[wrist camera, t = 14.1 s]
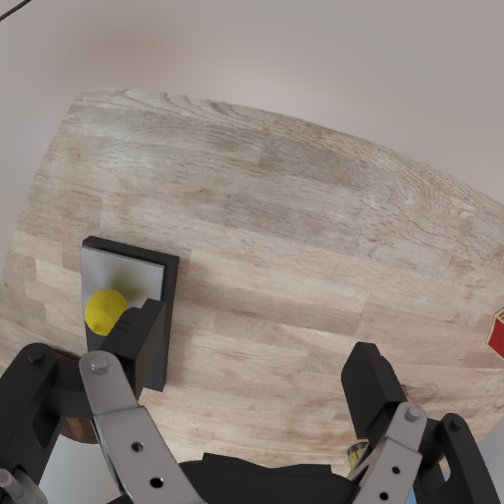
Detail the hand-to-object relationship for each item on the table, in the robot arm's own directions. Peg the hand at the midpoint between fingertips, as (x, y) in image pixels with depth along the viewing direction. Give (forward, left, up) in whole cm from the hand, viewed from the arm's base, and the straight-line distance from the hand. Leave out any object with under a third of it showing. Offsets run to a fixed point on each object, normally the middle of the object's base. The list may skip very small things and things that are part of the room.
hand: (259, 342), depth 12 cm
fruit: (-16, -16, -24) cm, 33 cm away
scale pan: (-16, -16, -24) cm, 33 cm away
